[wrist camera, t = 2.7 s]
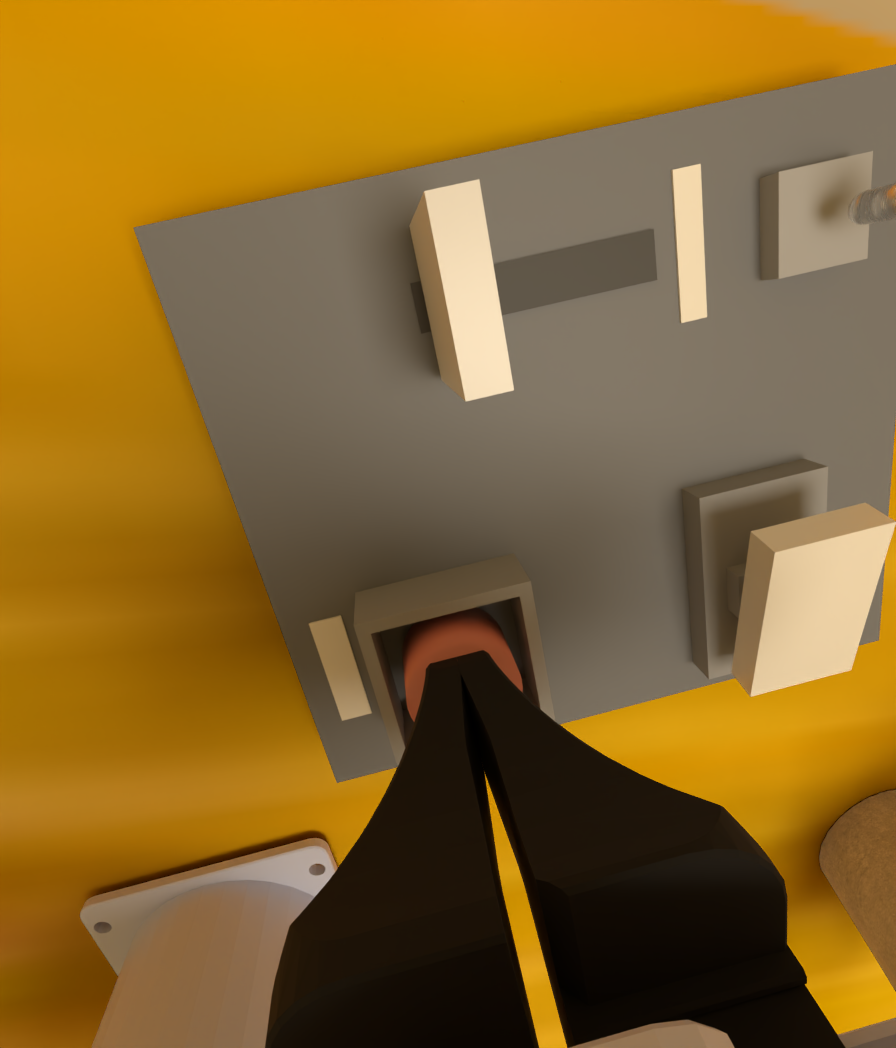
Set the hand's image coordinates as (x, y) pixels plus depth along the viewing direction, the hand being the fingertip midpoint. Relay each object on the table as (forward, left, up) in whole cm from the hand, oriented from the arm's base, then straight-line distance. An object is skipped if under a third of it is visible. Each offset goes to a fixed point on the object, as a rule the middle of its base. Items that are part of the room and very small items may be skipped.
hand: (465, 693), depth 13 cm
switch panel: (+3, -4, -4) cm, 7 cm away
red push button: (0, 0, -2) cm, 2 cm away
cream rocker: (0, -8, 0) cm, 8 cm away
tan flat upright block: (+8, -2, -2) cm, 8 cm away
